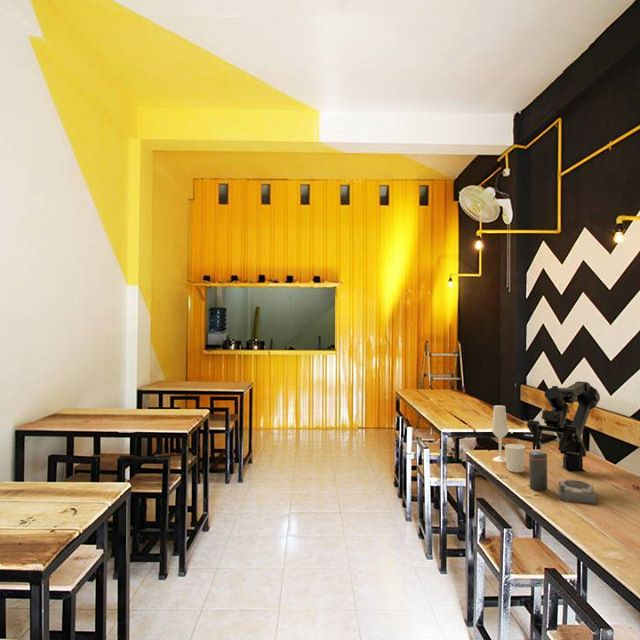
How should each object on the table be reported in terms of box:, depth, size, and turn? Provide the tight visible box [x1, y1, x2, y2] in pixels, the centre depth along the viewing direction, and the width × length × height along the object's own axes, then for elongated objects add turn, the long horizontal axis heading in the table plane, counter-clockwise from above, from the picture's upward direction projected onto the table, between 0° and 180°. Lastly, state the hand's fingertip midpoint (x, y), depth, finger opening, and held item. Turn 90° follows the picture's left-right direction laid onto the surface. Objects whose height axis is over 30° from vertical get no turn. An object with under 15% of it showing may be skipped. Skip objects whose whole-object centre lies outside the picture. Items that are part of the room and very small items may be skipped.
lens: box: [528, 451, 548, 492], centre depth 183 cm, size 6×6×13 cm
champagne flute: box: [491, 404, 509, 463], centre depth 221 cm, size 7×7×24 cm
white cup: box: [504, 443, 526, 473], centre depth 206 cm, size 8×8×10 cm
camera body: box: [558, 479, 597, 505], centre depth 175 cm, size 13×11×4 cm
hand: (546, 447), depth 189 cm, fingers open, 9 cm apart
